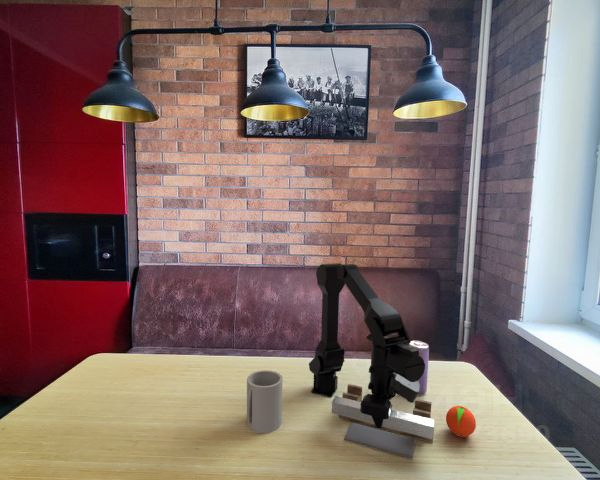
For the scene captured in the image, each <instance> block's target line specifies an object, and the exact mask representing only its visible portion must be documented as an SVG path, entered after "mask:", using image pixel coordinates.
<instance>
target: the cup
mask: <svg viewBox="0 0 600 480" xmlns="http://www.w3.org/2000/svg"><path fill="white" fill-rule="evenodd" d="M283 381H284V379H283V375H282V374H281V373H279V372H277V371H276V370H275V371H273V370H270V369H269V370H267V369H266V370H265V369H264V370H258V371H254V372H252V373H249V375H248V376H247V378H246V426H247V428H248V429H249V430H250V431H251V432H253V433H257V434H268V433H273V432H276V431H277V430H278V429H280V428H281V426H282V424H283Z"/></svg>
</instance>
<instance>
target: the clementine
mask: <svg viewBox="0 0 600 480" xmlns="http://www.w3.org/2000/svg"><path fill="white" fill-rule="evenodd" d="M445 421H446V422H445V423H446V425H447V427H448V429H449V430H450V431H451V432H452V433H453V434H455V435H456V436H458V437H461V438H462V437H464V438H465V437H469V436H470V435H473V433H474V431H475V430H476V428H477V424H476V423H477V421H476V418H475V416H474V414H473V412H472V411H471V410H469V409H468V408H467V407H465V406H463V405H455V406H452V407H450V409H448V411H447V412H446V415H445Z"/></svg>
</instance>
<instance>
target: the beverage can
mask: <svg viewBox="0 0 600 480" xmlns="http://www.w3.org/2000/svg"><path fill="white" fill-rule="evenodd" d="M410 341H411V342H410V343H408V346H409V347H411V348H415V349H417V350H418V351H419V356H420V357H422V358H423V360H424V364H425V370H424V373H423V375H422V377H421V378H420V379H419V380H417V381H419V384H420V388H419V392H418V394H417V396H423V395H425V394H426V393H427V390H428V389H427V388H428V374H429V373H428V371H429V357H430V355H429V353H430V348H429V347H430V346H429V344H428V343H426V342H423V341H421V340H410ZM417 381H416V382H417Z"/></svg>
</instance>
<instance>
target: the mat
mask: <svg viewBox="0 0 600 480" xmlns="http://www.w3.org/2000/svg"><path fill="white" fill-rule="evenodd" d="M343 441H348V442H351V443H355V444H358V445H362V446H365V447H368V448H371V449H372V448H373V449H376V450H380V451H382V452H386V453H390V454H393V455H398V456H401V457H404V458H408V459H411V460H413V457H414V450H415V445H416V438H413V437H409V436H405V435H402V434H398V433H394V432H390V431H386V430H383V429H379V428H375V427H371V426H367V425H363V424H360V423H356V422H352V421H350V425H349V427H348V429H347V431H346V433H345V436H344V438H343Z"/></svg>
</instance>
